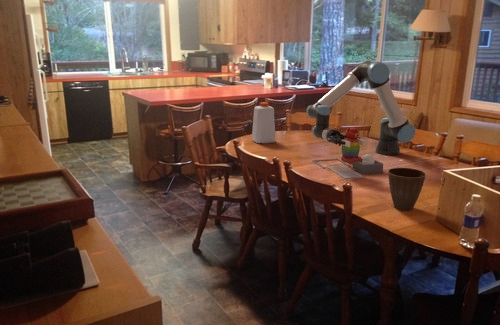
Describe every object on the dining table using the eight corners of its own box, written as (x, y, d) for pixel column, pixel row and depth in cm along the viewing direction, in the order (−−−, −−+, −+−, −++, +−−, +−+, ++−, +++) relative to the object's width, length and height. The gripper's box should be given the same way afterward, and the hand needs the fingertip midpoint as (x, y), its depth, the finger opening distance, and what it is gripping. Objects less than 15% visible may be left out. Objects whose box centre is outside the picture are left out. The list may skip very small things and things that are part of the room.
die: (354, 162, 254) (355, 153, 252) (360, 164, 249) (361, 155, 248) (348, 164, 251) (348, 154, 250) (354, 166, 247) (354, 156, 246)
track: (338, 159, 261) (338, 158, 261) (369, 176, 226) (369, 176, 226) (311, 160, 257) (311, 160, 257) (339, 179, 222) (339, 178, 222)
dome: (369, 165, 242) (371, 152, 240) (376, 169, 236) (377, 155, 234) (358, 166, 241) (359, 152, 238) (364, 170, 234) (366, 156, 232)
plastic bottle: (269, 138, 317) (270, 100, 310) (277, 142, 303) (278, 103, 296) (250, 139, 313) (250, 101, 305) (257, 144, 299) (257, 104, 291)
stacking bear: (348, 163, 220) (351, 130, 216) (336, 159, 229) (338, 126, 224) (364, 161, 225) (367, 128, 221) (351, 157, 234) (354, 125, 229)
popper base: (371, 166, 246) (372, 158, 244) (382, 172, 234) (383, 163, 233) (352, 168, 243) (353, 159, 241) (362, 174, 231) (363, 165, 230)
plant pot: (383, 211, 180) (387, 175, 175) (386, 199, 193) (389, 166, 189) (421, 216, 175) (426, 179, 170) (421, 204, 188) (425, 169, 184)
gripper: (346, 140, 246) (372, 149, 226) (315, 143, 237) (339, 152, 217) (347, 127, 244) (374, 135, 224) (316, 130, 235) (340, 138, 215)
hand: (357, 143), depth 221 cm, fingers closed on stacking bear, 9 cm apart
